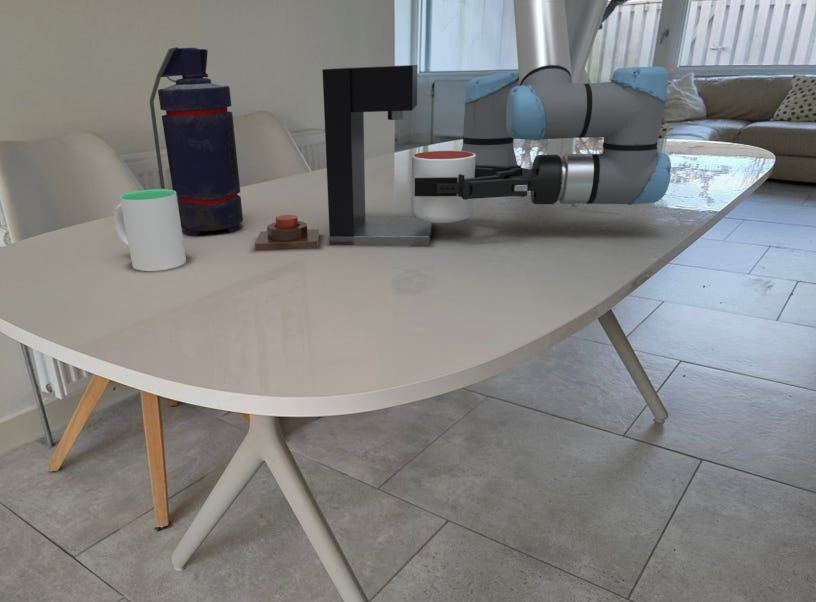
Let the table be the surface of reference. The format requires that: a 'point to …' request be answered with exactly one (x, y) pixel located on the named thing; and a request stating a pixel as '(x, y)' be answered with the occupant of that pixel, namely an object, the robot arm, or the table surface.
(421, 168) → the cup
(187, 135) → the grenade
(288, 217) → the brew button
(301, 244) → the brew pad
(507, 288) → the table surface
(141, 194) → the mug
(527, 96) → the robot arm
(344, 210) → the coffee maker
